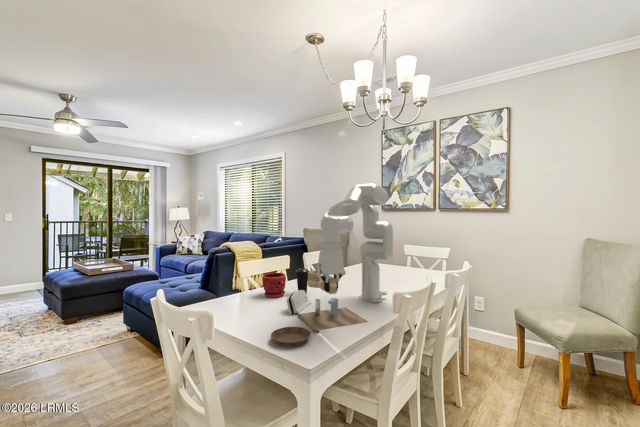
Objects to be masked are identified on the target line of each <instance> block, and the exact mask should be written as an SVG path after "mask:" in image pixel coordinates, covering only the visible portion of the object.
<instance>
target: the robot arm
mask: <svg viewBox="0 0 640 427" xmlns="http://www.w3.org/2000/svg"><path fill="white" fill-rule="evenodd" d="M388 194H389V193H388V192H387V190H386V189H385V188H383V187H382V186H380V185H378V184H375V183H360V184H355V185H353V186H352V187H351V188H350V189H349V191H348V192H347V195H346V196H345V198H344V200H342V201H339V202H338V203H336V204H334V205H332V206H330V207H329V208H327V210H326V211H325V213H324V214H323V216H321V217H322V218H321V219H320V228H321V231H322V232H321V233H322V234H321V239H322V240H321V242H322V243H321V244H322V245H321V247H322V248H321V249H320V250H319V253H318V260H317V261H318V264H317V270H318V272H317V274H316V276H318V277H320V278H321V279H322V280H323V281H324V290H325V291H326V292H325V291H324V290H323V291H324V292H325V293H327V292H329V282H328V279H329V276H332V275H333V277H334V278H336V279H337V292H338V289H339V282H340V280H341V278H342V277H343V276H345V275H346V274H347V272H346V271H345V268H344V267H345V266H344V255H343V250H342V249H341V248H342V247H344V243H342V241H341V234H348V233H350V232H352V231H353V229H354V221H353V219H352V218H351V217H350V216H352V215H354V214H357V213H358V212H359V211H360V209H361V212H362V235H363V237H364V238H365V239H369V240H368V241H363V242H361V243H360V247H359V252H360V257H361V260H360V261H361V295H359V296H358V299H359V300H361V301H365V302H370V303H372V304H373V303H374V304H376V303H380V302H382V301H383V296H387V295H388V292H387V291H382V290H380V284H381V283H380V271H381V269H380V266H379V263H378V262H377V260H378V261H390V260H392V258H393V256H394V229H393V228H394V227H393V225H392V224H391V222H389V221H380V220H379V219H380V218H379V217H380V214H379V213H380V212H379V210H378V208H377V207H376V206H385V205H386V204H387V202H388V200H389V195H388ZM373 240H375V241H373ZM376 240H382V241H376ZM321 273H322V274H323V276H322V275H321Z"/></svg>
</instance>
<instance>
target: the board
mask: <svg viewBox="0 0 640 427" xmlns="http://www.w3.org/2000/svg"><path fill="white" fill-rule="evenodd" d="M297 317H298V318H299V319H300V320H301V321H303V323H304V324H305V325H306V326H308V327H309V329H311V331H313V332H314V334H318V333H320V331H321V330H327V329H333V328H340V327H341V328H342V327H346V326H347V327H348V326H354V325H358V324H365V323H369V321H368V320H366V319H365V318H363V317H361V316H360V315H358V314H357V313H355V312H353V311H351V310H350V309H349V308H347V307H340V308H339V307H338V316H334V317H333V316H332V315H331V309H325V310H320V315H319V316H316V315H315V311H310V312H303V313H299V314H298V313H297Z"/></svg>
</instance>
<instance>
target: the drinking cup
mask: <svg viewBox="0 0 640 427" xmlns="http://www.w3.org/2000/svg"><path fill="white" fill-rule="evenodd" d="M309 271H310V269H307V268H305V267H304V259H301V267H300V268H298V269H296V270H295V272H296V283H297V291H298V290H304V291H305V292H306V295H307V294H308V293H307V292H308V272H309Z"/></svg>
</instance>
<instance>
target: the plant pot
mask: <svg viewBox="0 0 640 427" xmlns="http://www.w3.org/2000/svg"><path fill="white" fill-rule="evenodd" d="M261 276H262V278H261V280H262V287H263V290H264V296H265V297H268V298H270V299H271V298H274V299H275V298H280V297H283V296H285V294H286V290H285V288H286V281H287V277H286V276H287V274H286V273H283V272H270V273H265V274H262V275H261Z"/></svg>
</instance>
